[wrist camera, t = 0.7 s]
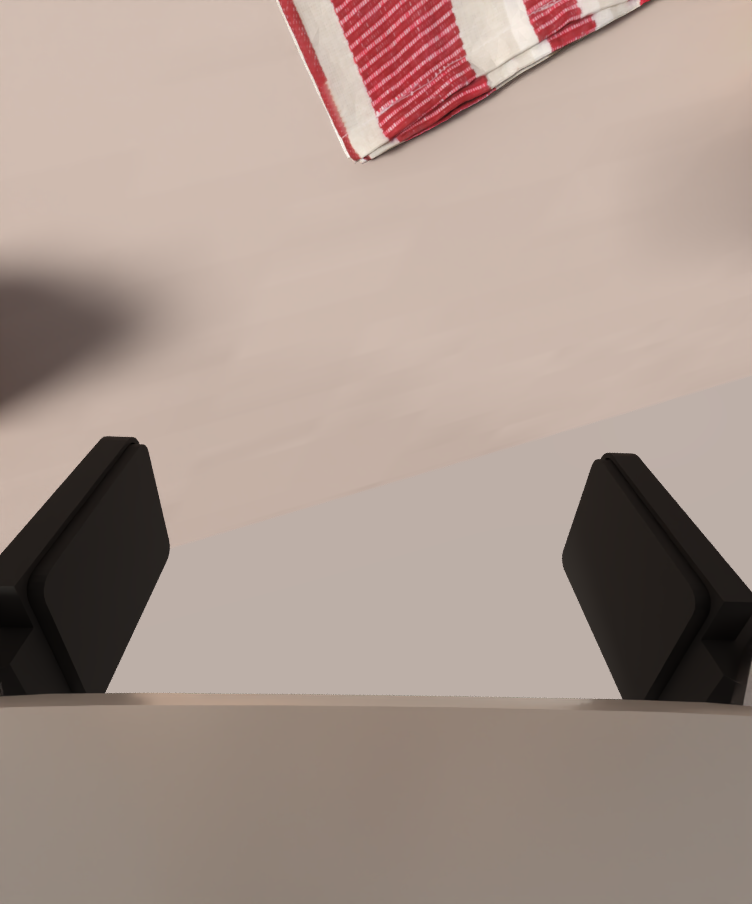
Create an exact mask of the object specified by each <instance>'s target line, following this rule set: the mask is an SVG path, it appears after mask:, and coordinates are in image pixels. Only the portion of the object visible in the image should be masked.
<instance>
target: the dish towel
mask: <svg viewBox="0 0 752 904" xmlns="http://www.w3.org/2000/svg"><path fill="white" fill-rule="evenodd" d="M648 1H650V0H276V2H277V4H278V7H279V9H280V11H281V13H282V15H283V17H284V20H285V22H286V24H287V27H288V29H289V31H290V33H291V36H292V38H293V40H294V42H295V45H296V47H297V50H298V52H299V54H300V56H301V58H302V60H303V62H304V65H305V67H306V69H307V71H308V73H309V75H310V77H311V79H312V82H313V84H314V86H315V89H316V91H317V93H318V95H319V97H320V99H321V101H322V103H323V105H324V107H325V109H326V112H327V114H328V116H329V119H330V121H331V123H332V126H333V128H334V131H335V133H336V135H337V137H338V139H339V141H340V144H341V146H342V148H343V150H344V152H345V154H346V156H347V158H351V159H352V160H353V161H354V163H356V162H357V161H360V162H361V163H362V164H363V163H365V162H367V161H369V160H371V159H373V158H375V157H377V156H379V155H380V154H382V153H384V152H386V151H387V150H389V149H391V148H393V147H395V146H397V145H399V144H401V143H403V142H405V141H408V140H410V139H412V138H414V137H417V136H419V135H420V134H422V133H424V132H426V131H428V130H430V129H431V128H433V127H435V126H437V125H438V124H440V123H442V122H444V121H446V120H448V119H449V118H451V117H452V116H453V115H455V114H457V113H458V112H460V111H461V110H463V109H466V108H468V107H470V106H471V105H473V104H475V103H477V102H479V101H480V100H482V99H484V98H486V97H487V96H488V95H490V94H491V93H492V92H494V91H496V90H497V89H499V88H500V87H502V86H503V85H505V84H506V83H507V82H509V81H510V80H512V79H513V78H515V77H516V76H518V75H519V74H521V73H523V72H524V71H526V70H528V69H530V68H531V67H533V66H535V65H537V64H538V63H540V62H542V61H544V60H545V59H547V58H549V57H550V56H552V55H553V54H555V53H556V52H558V51H560V50H562V49H563V48H565V47H567V46H569V45H571V44H573V43H575V42H577V41H579V40H581V39H582V38H584V37H585V36H587V35H589V34H590V33H592V32H594V31H596V30H598V29H600V28H602V27H604V26H605V25H607V24H609V23H611V22H612V21H614V20H616V19H618V18H620V17H622V16H624V15H626V14H627V13H629V12H631V11H633V10H634V9H636V8H638V7H640V6H641V5H642V4H644V3H645V2H648Z"/></svg>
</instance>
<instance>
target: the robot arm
mask: <svg viewBox="0 0 752 904" xmlns="http://www.w3.org/2000/svg"><path fill="white" fill-rule="evenodd" d="M169 550H170V544H169V538H168V534H167V530H166V525H165V521H164V517H163V512H162V508H161V504H160V499H159V495H158V491H157V486H156V482H155V478H154V474H153V469H152V465H151V461H150V456H149V452H148V449H147V447H146V446H145V445H142V444H139V442H138V441H137V439H136V438H134V437H111V436H106V437H103V438H102V439H100V441H99V442H98V443H97V444H96V445H95V446H94V448H93V449H92V450H91V451H90V452H89V453H88V454H87V456H86V457H85V458H84V459H83V460H82V461H81V462H80V464H79V465H78V466H77V467H76V468H75V469H74V471H73V472H72V473H71V474H70V475H69V476H68V477H67V479H66V480H65V481H64V482H63V483H62V484H61V486H60V487H59V488H58V489H57V490H56V491H55V492H54V494H53V495H52V496H51V497H50V498H49V499H48V500H47V502H46V503H45V504H44V505H43V506H42V507H41V509H40V510H39V511H38V512H37V513H36V514H35V515H34V517H33V518H32V519H31V520H30V521H29V522H28V524H27V525H26V526H25V527H24V528H23V529H22V530H21V532H20V533H19V534H18V535H17V536H16V537H15V538H14V540H13V541H12V542H11V543H10V544H9V545H8V547H7V548H6V549H5V550H4V551H3V552H2V553H1V555H0V904H752V592H751V591H750V589H749V588H748V587H747V586H746V585H745V583H744V582H743V581H742V580H741V579H740V577H739V576H738V575H737V574H736V573H735V571H734V570H733V569H732V568H731V567H730V566H729V564H728V563H727V562H726V561H725V560H724V558H723V557H722V556H721V555H720V554H719V552H718V551H717V550H716V549H715V548H714V546H713V545H712V544H711V543H710V542H709V541H708V539H707V538H706V537H705V536H704V534H703V533H702V532H701V531H700V530H699V528H698V527H697V526H696V525H695V524H694V523H693V521H692V520H691V519H690V518H689V517H688V515H687V514H686V513H685V512H684V511H683V509H682V508H681V507H680V506H679V505H678V504H677V502H676V501H675V500H674V499H673V498H672V496H671V495H670V494H669V493H668V491H667V490H666V489H665V488H664V487H663V486H662V484H661V483H660V482H659V481H658V480H657V478H656V477H655V476H654V475H653V474H652V473H651V471H650V470H649V469H648V468H647V466H646V465H645V464H644V463H643V462H642V460H641V459H640V458H639V457H638V456H637V455H636V454H629V453H606V454H604V455H603V456H602V458H601V459H597V460H595V461H594V463H593V464H592V467H591V470H590V473H589V476H588V479H587V482H586V485H585V488H584V491H583V494H582V497H581V500H580V503H579V506H578V509H577V511H576V514H575V518H574V520H573V524H572V527H571V529H570V532H569V535H568V538H567V541H566V544H565V547H564V550H563V554H562V563H563V567H564V570H565V572H566V575H567V577H568V579H569V581H570V583H571V585H572V588H573V590H574V592H575V594H576V597H577V599H578V601H579V603H580V606H581V608H582V610H583V612H584V615H585V617H586V619H587V621H588V623H589V626H590V628H591V630H592V632H593V634H594V637H595V639H596V641H597V643H598V646H599V647H600V650H601V652H602V654H603V657H604V659H605V661H606V663H607V665H608V667H609V669H610V672H611V674H612V676H613V679H614V681H615V683H616V685H617V687H618V690H619V692H620V694H621V696H622V699H575V698H570V699H569V698H520V697H468V696H400V695H398V696H397V695H396V696H395V695H323V694H321V695H320V694H317V695H316V694H215V693H214V694H211V693H208V694H207V693H205V694H204V693H201V694H200V693H105V692H106V690H107V688H108V685H109V683H110V681H111V679H112V677H113V675H114V673H115V671H116V668H117V666H118V664H119V662H120V660H121V657H122V656H123V653H124V651H125V649H126V647H127V645H128V643H129V641H130V638H131V636H132V634H133V632H134V630H135V628H136V625H137V623H138V621H139V619H140V617H141V615H142V613H143V611H144V608H145V606H146V604H147V602H148V600H149V598H150V596H151V594H152V591H153V589H154V587H155V585H156V583H157V580H158V579H159V576H160V574H161V572H162V570H163V568H164V566H165V564H166V561H167V559H168V556H169Z"/></svg>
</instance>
